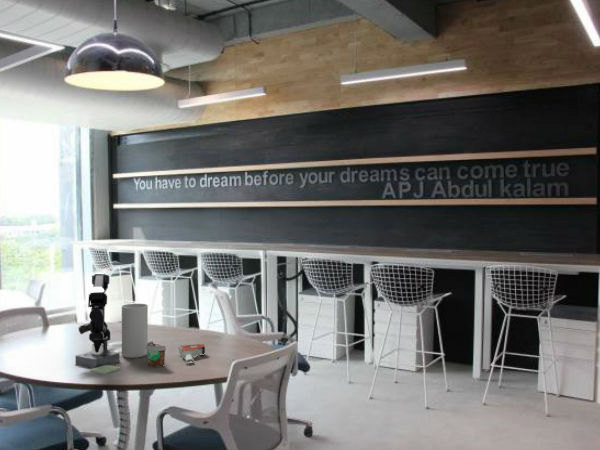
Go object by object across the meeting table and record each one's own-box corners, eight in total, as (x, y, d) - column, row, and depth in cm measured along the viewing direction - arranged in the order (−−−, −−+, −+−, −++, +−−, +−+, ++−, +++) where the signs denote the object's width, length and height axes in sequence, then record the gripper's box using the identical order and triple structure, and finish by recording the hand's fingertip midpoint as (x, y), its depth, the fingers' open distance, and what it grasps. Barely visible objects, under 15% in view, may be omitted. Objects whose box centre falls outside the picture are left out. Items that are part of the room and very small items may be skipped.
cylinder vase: (117, 354, 284) (117, 305, 283) (141, 350, 292) (141, 302, 291) (127, 359, 274) (127, 308, 274) (151, 355, 282) (151, 306, 282)
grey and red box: (188, 369, 266) (216, 357, 283) (188, 358, 266) (216, 346, 282) (162, 361, 275) (190, 350, 292) (161, 351, 275) (190, 340, 292)
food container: (140, 363, 267) (140, 343, 267) (152, 361, 272) (152, 341, 271) (154, 369, 259) (154, 347, 258) (165, 366, 263) (165, 345, 263)
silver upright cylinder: (98, 360, 272) (98, 342, 272) (105, 362, 270) (105, 343, 270) (89, 363, 268) (89, 344, 268) (97, 364, 266) (97, 345, 265)
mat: (106, 366, 263) (106, 364, 263) (119, 369, 258) (119, 367, 258) (90, 371, 255) (90, 369, 255) (104, 374, 250) (104, 372, 250)
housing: (99, 357, 279) (99, 349, 278) (119, 361, 272) (119, 352, 272) (75, 363, 266) (75, 355, 266) (96, 368, 260) (96, 359, 259)
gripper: (81, 314, 275) (81, 346, 276) (77, 322, 257) (77, 356, 258) (105, 313, 278) (105, 344, 279) (103, 321, 260) (103, 354, 261)
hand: (97, 349), depth 269 cm, fingers open, 9 cm apart
